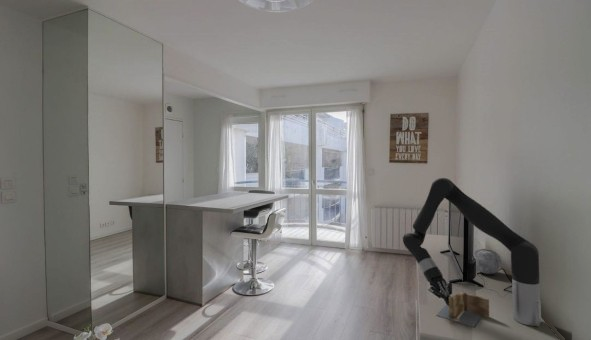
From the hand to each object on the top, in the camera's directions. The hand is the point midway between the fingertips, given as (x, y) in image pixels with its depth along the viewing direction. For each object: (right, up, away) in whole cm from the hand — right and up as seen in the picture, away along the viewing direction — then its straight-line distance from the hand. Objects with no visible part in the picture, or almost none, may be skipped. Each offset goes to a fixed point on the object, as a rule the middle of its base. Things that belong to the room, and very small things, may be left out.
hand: (451, 305), depth 134 cm
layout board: (+5, -4, +1) cm, 6 cm away
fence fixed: (+11, -4, +1) cm, 12 cm away
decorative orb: (+47, -2, +48) cm, 67 cm away
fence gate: (+3, -4, 0) cm, 4 cm away
